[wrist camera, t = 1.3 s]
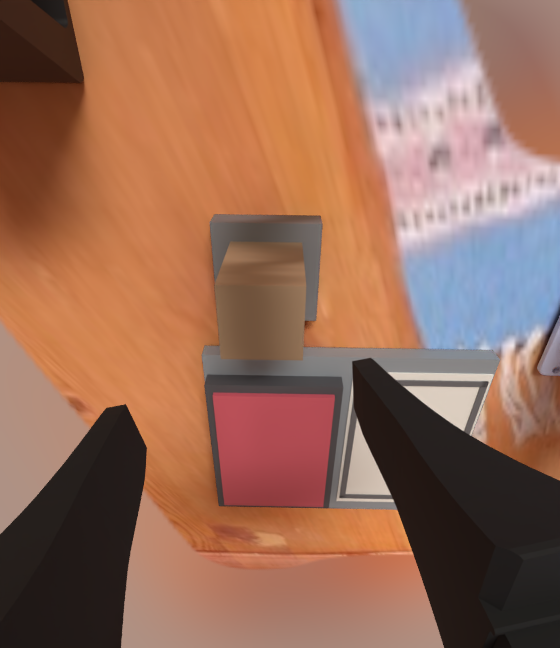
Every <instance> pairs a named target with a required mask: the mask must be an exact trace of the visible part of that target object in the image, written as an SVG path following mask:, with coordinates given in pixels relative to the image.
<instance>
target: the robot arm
mask: <svg viewBox="0 0 560 648" xmlns="http://www.w3.org/2000/svg"><path fill="white" fill-rule="evenodd" d="M555 367H556V368H555ZM553 368H554V369H553ZM537 370H538V371H539V372H540V374H542V375H545V376H560V316H559V319H558V321H557V323H556V325H555V328H554V330H553V332H552V334H551V337H550V339H549V341H548V344H547V346H546V348H545V350H544V353H543V355H542V357H541V359H540V362H539V364H538V366H537ZM352 372H353V402H354V410H355V413H356V416H357V419H358V422H359V425H360V428H361V431H362V434H363V436H364V438H365V441H366V443H367V445H368V447H369V449H370V451H371V454H372V456H373V458H374V460H375V462H376V464H377V466H378V468H379V470H380V473H381V475H382V477H383V479H384V481H385V483H386V485H387V487H388V489H389V492H390V494H391V496H392V498H393V500H394V503H395V505H396V507H397V510H398V512H399V515H400V518H401V521H402V523H403V526H404V529H405V532H406V534H407V537H408V540H409V543H410V546H411V548H412V551H413V554H414V557H415V560H416V563H417V566H418V568H419V571H420V574H421V577H422V580H423V583H424V586H425V589H426V592H427V595H428V598H429V601H430V604H431V607H432V610H433V614H434V616H435V620H436V623H437V626H438V629H439V632H440V636H441V639H442V642H443V645H444V648H560V481H559V480H557V479H555V478H552V477H550V476H548V475H546V474H543V473H541V472H539V471H537V470H535V469H532V468H530V467H528V466H526V465H524V464H522V463H520V462H518V461H516V460H514V459H512V458H510V457H508V456H506V455H504V454H503V453H501V452H499V451H497V450H495V449H493V448H491V447H489V446H487V445H486V444H484V443H482V442H480V441H479V440H477V439H475V438H474V437H472V436H470V435H469V434H467V433H466V432H464V431H462V430H461V429H459V428H458V427H456V426H455V425H453V424H452V423H450V422H449V421H447V420H446V419H445V418H443V417H442V416H440V415H439V414H438V413H436V412H435V411H434V410H432V409H431V408H430V407H428V406H427V405H426V404H424V403H423V402H422V401H421V400H419V399H418V398H417V397H416V396H414V395H413V394H412V393H411V392H409V391H408V390H407V389H406V388H405V387H403V386H402V385H401V384H400V383H399V382H398V381H397V380H395V379H394V378H393V377H392V376H391V375H390V374H389V373H388V372H386V371H385V370H384V369H383V368H382V367H381V366H380V365H379V364H378V363H377V362H376V361H375V360H373V359H372V358H366V359H361V360H356V361H352ZM146 452H147V447H146V445H145V443H144V441H143V439H142V437H141V435H140V433H139V431H138V428H137V426H136V424H135V422H134V420H133V418H132V416H131V414H130V412H129V410H128V408H127V406H126V404H125V405H120V406H115V407H109V408H106V409H105V410H104V412H103V413H102V414H101V415H100V417H99V418H98V419H97V421H96V422H95V423H94V425H93V426H92V427H91V429H90V430H89V432H88V433H87V434H86V435H85V437H84V438H83V439H82V441H81V442H80V443H79V445H78V446H77V447H76V449H75V450H74V451H73V452H72V454H71V455H70V456H69V458H68V459H67V460H66V462H65V463H64V464H63V465H62V467H61V468H60V469H59V470H58V471H57V473H56V474H55V475H54V476H53V477H52V479H51V480H50V481H49V482H48V483H47V484H46V486H45V487H44V488H43V489H42V490H41V491H40V493H39V494H38V495H37V496H36V497H35V499H34V500H33V501H32V502H31V503H30V504H29V505H28V506H27V507H26V508H25V509H24V511H23V512H22V513H21V514H20V515H19V516H18V517H17V518H16V519H15V520H14V521H13V522H12V523H11V524H10V525H9V526H8V527H7V528H6V529H5V530H4V531H3V532H2V533H1V534H0V648H121V638H122V625H123V613H124V601H125V591H126V580H127V571H128V564H129V557H130V551H131V546H132V541H133V536H134V531H135V526H136V521H137V516H138V511H139V506H140V501H141V496H142V491H143V486H144V480H145V469H146Z"/></svg>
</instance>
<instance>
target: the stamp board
mask: <svg viewBox="0 0 560 648" xmlns="http://www.w3.org/2000/svg"><path fill="white" fill-rule="evenodd" d="M366 358H372V359H373V360H375V361H376V362H377V363H378V364H379V365H380V366H381V367H382V368H383V369H384V370H385V371H386V372H388V373H389V374H390V375H391V376H392V377H393V378H394V379H395V380H397V381H398V382H399V383H400V384H401V385H402V386H403V387H405V388H406V389H407V390H408V391H409V392H411V393H412V394H413V395H414V396H416V397H417V398H418V399H419V400H421V401H422V402H423V403H424V404H426V405H427V406H428V407H430V408H431V409H432V410H434V411H435V412H436V413H438V414H439V415H440V416H442V417H443V418H445V419H446V420H447V421H449V422H450V423H452V424H453V425H455V426H456V427H458V428H459V429H461V430H462V431H464V432H466V433H467V434H469V435H470V436H472V433H473V431H474V428H475V425H476V423H477V420H478V417H479V415H480V412H481V409H482V407H483V404H484V401H485V399H486V396H487V393H488V391H489V388H490V385H491V383H492V380H493V377H494V375H495V372H496V369H497V367H498V364H499V361H500V359H499V358H498V356H497V355H496V354H495V353H494V351H493V350H453V349H389V348H326V347H303V361H301V360H240V359H221V356H220V346H204V350H203V353H202V361H203V369H204V378H205V385H204V386H205V394H206V402H207V411H208V419H209V427H210V436H211V444H212V452H213V461H214V469H215V478H216V486H217V494H218V503H219V506H237V507H288V508H343V509H394V510H397V507H396V505H395V503H394V500H393V498H392V496H391V494H390V492H389V489H388V487H387V485H386V483H385V481H384V479H383V477H382V475H381V473H380V470H379V468H378V466H377V464H376V462H375V460H374V458H373V456H372V454H371V451H370V449H369V447H368V445H367V443H366V441H365V438H364V436H363V434H362V431H361V428H360V425H359V422H358V419H357V416H356V413H355V410H354V402H353V372H352V361H356V360H361V359H366Z"/></svg>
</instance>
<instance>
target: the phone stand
mask: <svg viewBox="0 0 560 648" xmlns="http://www.w3.org/2000/svg"><path fill="white" fill-rule="evenodd" d="M83 79H84V76H83V71H82V66H81V61H80V57H79V52H78V47H77V43H76V38H75V33H74V29H73V24H72V19H71V14H70V10H69V5H68V0H0V82H53V83H82V82H83Z"/></svg>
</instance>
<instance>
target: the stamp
mask: <svg viewBox="0 0 560 648" xmlns="http://www.w3.org/2000/svg"><path fill="white" fill-rule="evenodd" d="M210 232H211V243H212V255H213V266H214V278H215V285H214V287H215V299H216V310H217V321H218V333H219V344H220V356H221V359H240V360H301V361H303V345H304V324H305V321H316V315H317V299H318V284H319V269H320V254H321V238H322V220H321V216H306V215H227V214H214V216H213V218H212V219H211V221H210Z"/></svg>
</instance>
